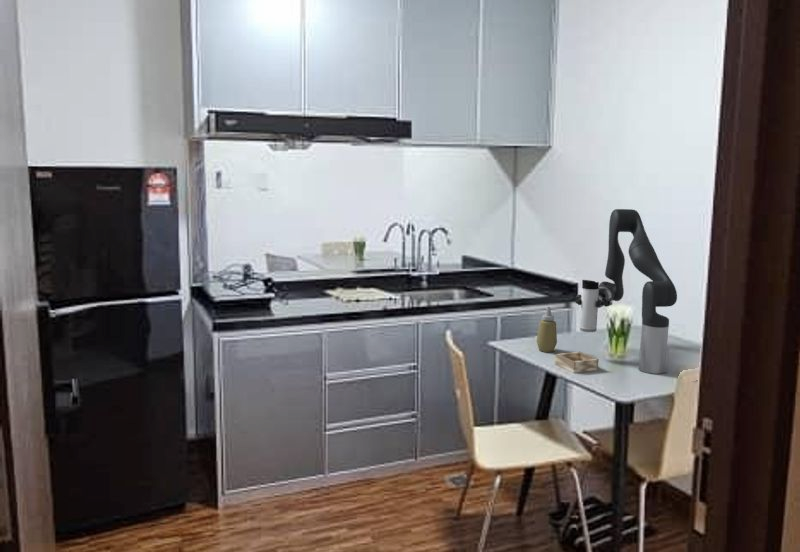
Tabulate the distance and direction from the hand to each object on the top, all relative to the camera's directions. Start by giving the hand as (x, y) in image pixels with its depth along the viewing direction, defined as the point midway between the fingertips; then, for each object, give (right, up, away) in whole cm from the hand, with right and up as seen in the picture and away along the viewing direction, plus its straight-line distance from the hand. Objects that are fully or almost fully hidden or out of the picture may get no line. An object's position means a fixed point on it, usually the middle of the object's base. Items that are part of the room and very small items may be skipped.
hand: (587, 303), depth 264 cm
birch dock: (-6, -23, -8) cm, 25 cm away
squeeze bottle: (-13, -20, +15) cm, 28 cm away
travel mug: (+1, -11, +4) cm, 11 cm away
